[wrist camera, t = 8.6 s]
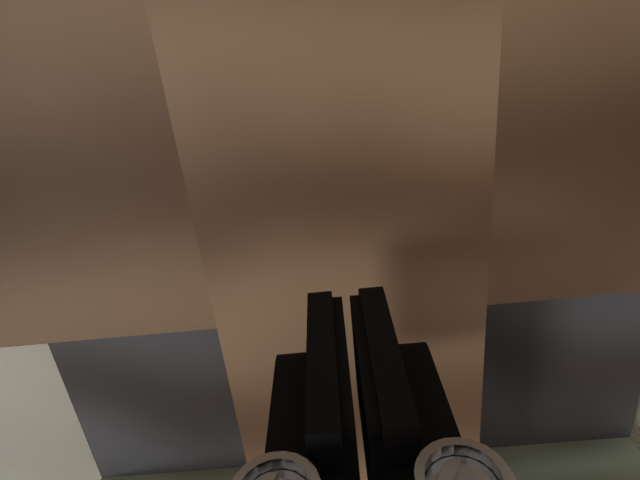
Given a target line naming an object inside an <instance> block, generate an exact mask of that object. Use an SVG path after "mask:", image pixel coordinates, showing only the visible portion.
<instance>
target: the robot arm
mask: <svg viewBox="0 0 640 480" xmlns="http://www.w3.org/2000/svg"><path fill="white" fill-rule="evenodd" d="M358 294H359V295H352V296H350V309H351V321H352V333H353V346H354V358H355V370H356V382H357V394H358V404H359V412H360V421H361V429H362V437H363V446H364V454H365V462H366V471H367V479H368V480H517V478H516V477H515V475H514V474H513V472H512V470H511V469H510V467H509V466H508V464H507V463H506V462H505V461H504V460H503V459H502V457H501V456H500V455H499V454H498V453H496V452H495V451H494V450H492V449H491V448H489V447H488V446H487V445H485V444H482V443H480V442H477V441H475V440H472V439H467V438H461V435H460V433H459V430H458V427H457V424H456V421H455V419H454V416H453V413H452V410H451V408H450V405H449V402H448V399H447V397H446V394H445V391H444V388H443V385H442V383H441V380H440V377H439V374H438V372H437V369H436V366H435V363H434V361H433V358H432V355H431V352H430V349H429V347H428V345H427V343H426V342H417V343H406V344H398V340H397V337H396V333H395V329H394V325H393V322H392V318H391V314H390V311H389V307H388V303H387V299H386V296H385V292H384V288H383V286H380V287H369V288H358ZM233 480H360V471H359V460H358V449H357V437H356V427H355V417H354V407H353V398H352V388H351V379H350V369H349V360H348V350H347V341H346V331H345V322H344V313H343V303H342V296H341V297H332V291H324V292H313V293H308V295H307V338H306V352H302V353H290V354H278V355H277V356H276V360H275V368H274V377H273V385H272V394H271V403H270V411H269V420H268V429H267V437H266V446H265V454H263V455H260V456H257V457H255V458H254V459H252V460H251V461H249V462H248V463H246V464H245V465H244V466H243V467H242V468H241V469H240V470H239V471H238V472H237V473H236V474H235V476H234V478H233Z"/></svg>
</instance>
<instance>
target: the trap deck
mask: <svg viewBox="0 0 640 480" xmlns="http://www.w3.org/2000/svg"><path fill="white" fill-rule="evenodd" d="M380 286H383V288H384V292H385V296H386V299H387V303H388V307H389V311H390V314H391V318H392V322H393V325H394V329H395V333H396V337H397V340H398V344H406V343H417V342H426V343H427V345H428V347H429V349H430V352H431V355H432V358H433V361H434V363H435V366H436V369H437V372H438V374H439V377H440V380H441V383H442V385H443V388H444V391H445V394H446V397H447V399H448V402H449V405H450V408H451V410H452V413H453V416H454V419H455V421H456V424H457V427H458V430H459V433H460V435H461V438H467V439H472V440H475V441H477V442H480V443H482V444H485V445H487V446H488V447H489V448H491V449H492V450H494V451H495V452H496V453H498V454H499V455H500V456H501V457H502V459H503V460H504V461H505V462H506V463H507V464H508V466H509V467H510V469H511V470H512V472H513V474H514V475H515V477H516V478H517V480H640V450H639V448H638V447H637V446H636V444H635V443H634V442H633V441H632V439H631V438H630V433H631V429H632V424H633V420H634V416H635V411H636V407H637V402H638V398H639V394H640V0H0V347H11V346H22V345H34V344H45V343H48V345H49V347H50V350H51V352H52V355H53V357H54V360H55V362H56V365H57V367H58V370H59V372H60V375H61V377H62V379H63V382H64V384H65V387H66V389H67V392H68V394H69V397H70V399H71V402H72V404H73V407H74V409H75V412H76V414H77V417H78V419H79V422H80V424H81V427H82V429H83V432H84V434H85V437H86V439H87V442H88V444H89V447H90V449H91V452H92V454H93V457H94V459H95V462H96V464H97V467H98V469H99V472H100V474H101V477H102V479H101V480H233V478H234V476H235V474H236V473H237V472H238V471H239V470H240V469H241V468H242V467H243V466H244V465H245V464H246V463H248V462H249V461H251V460H252V459H254V458H255V457H257V456H260V455H263V454H265V446H266V437H267V429H268V420H269V411H270V403H271V394H272V385H273V377H274V368H275V360H276V356H277V355H278V354H290V353H302V352H306V338H307V295H308V293H313V292H324V291H332V297H341V296H342V303H343V313H344V322H345V331H346V341H347V350H348V360H349V369H350V379H351V388H352V398H353V407H354V417H355V427H356V437H357V449H358V460H359V471H360V480H368V479H367V471H366V462H365V454H364V446H363V437H362V429H361V421H360V412H359V404H358V394H357V382H356V370H355V358H354V346H353V333H352V321H351V309H350V296H352V295H359V294H358V288H369V287H380Z"/></svg>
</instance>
